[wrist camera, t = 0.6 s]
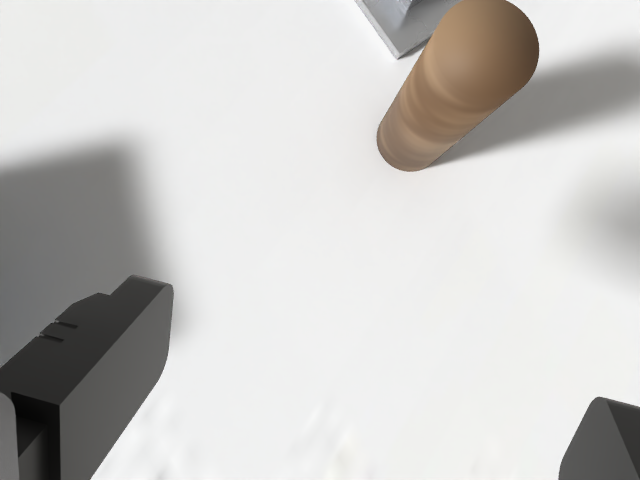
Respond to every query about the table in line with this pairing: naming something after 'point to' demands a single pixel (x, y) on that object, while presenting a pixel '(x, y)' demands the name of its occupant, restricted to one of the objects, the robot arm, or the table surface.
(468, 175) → the table surface
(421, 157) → the pin
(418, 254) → the table surface
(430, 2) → the collar
